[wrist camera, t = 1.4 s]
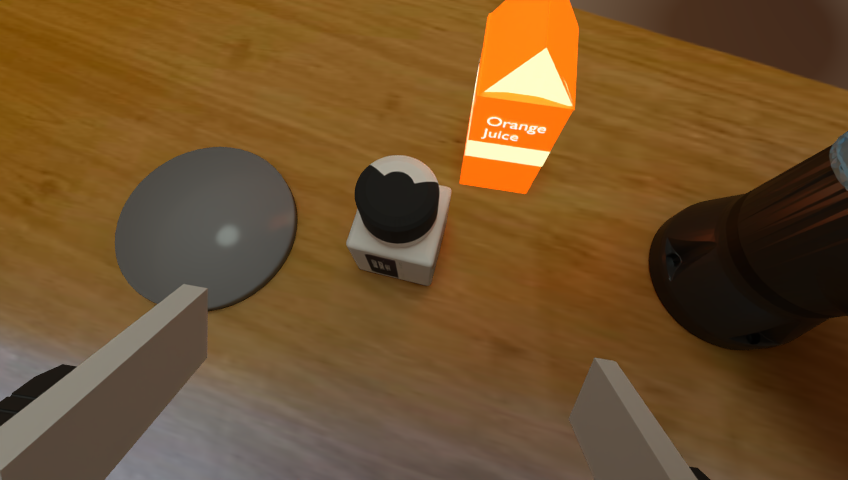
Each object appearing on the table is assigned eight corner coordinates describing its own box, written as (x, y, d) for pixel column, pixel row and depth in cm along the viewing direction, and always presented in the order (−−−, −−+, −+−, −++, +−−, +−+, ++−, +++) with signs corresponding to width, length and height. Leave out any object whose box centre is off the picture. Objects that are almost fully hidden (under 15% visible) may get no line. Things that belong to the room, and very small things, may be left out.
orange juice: (458, 184, 44) (485, 38, 26) (468, 119, 47) (499, -55, 29) (527, 194, 44) (607, 55, 25) (533, 128, 47) (609, -41, 28)
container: (430, 287, 40) (434, 246, 28) (357, 269, 41) (330, 221, 29) (447, 219, 43) (457, 154, 31) (378, 203, 44) (362, 133, 31)
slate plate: (244, 127, 47) (239, 119, 45) (329, 241, 42) (326, 236, 41) (97, 213, 43) (86, 208, 41) (172, 349, 38) (163, 348, 37)
